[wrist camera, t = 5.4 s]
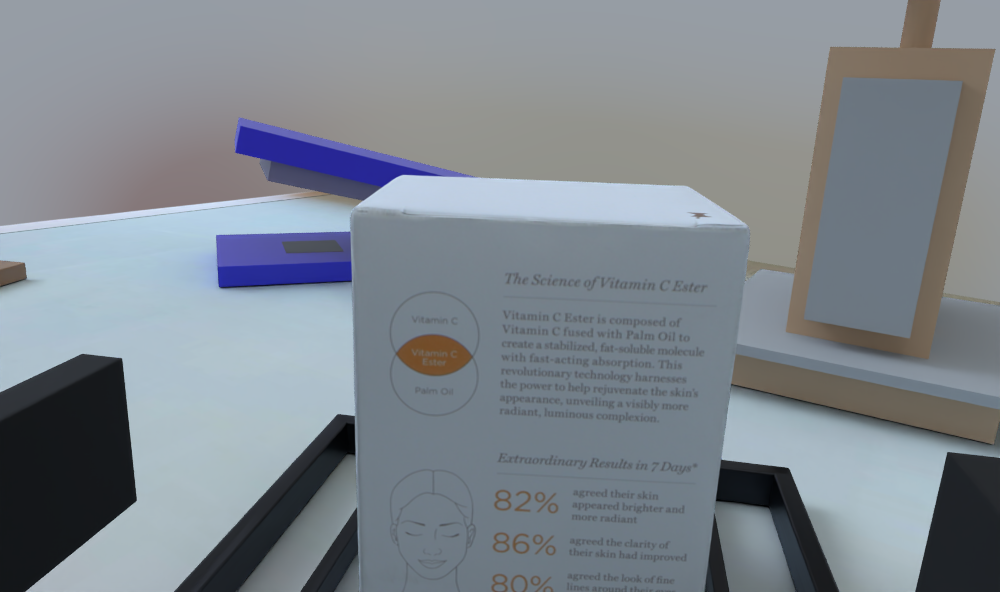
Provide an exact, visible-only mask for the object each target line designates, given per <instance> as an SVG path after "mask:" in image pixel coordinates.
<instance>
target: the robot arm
mask: <svg viewBox="0 0 1000 592" xmlns="http://www.w3.org/2000/svg"><path fill="white" fill-rule="evenodd" d="M136 501H137V498H136V488H135V478H134V469H133V459H132V449H131V440H130V430H129V420H128V411H127V401H126V391H125V382H124V372H123V362H122V358H114V357H105V356H96V355H87V354H81V355H79V356H77V357H75V358H73V359H70V360H68V361H66V362H64V363H62V364H60V365H58V366H56V367H53V368H51V369H49V370H47V371H45V372H43V373H41V374H39V375H36V376H34V377H32V378H30V379H28V380H26V381H24V382H22V383H19V384H17V385H15V386H13V387H11V388H9V389H7V390H5V391H2V392H0V592H25V591H26V590H28V589H29V588H30V587H31V586H33V585H34V584H35V583H36V582H38V581H39V580H40V579H41V578H42V577H44V576H45V575H46V574H47V573H49V572H50V571H51V570H52V569H53V568H55V567H56V566H57V565H58V564H60V563H61V562H62V561H63V560H65V559H66V558H67V557H68V556H69V555H71V554H72V553H73V552H74V551H76V550H77V549H78V548H79V547H81V546H82V545H83V544H84V543H85V542H87V541H88V540H89V539H90V538H92V537H93V536H94V535H95V534H96V533H98V532H99V531H100V530H101V529H103V528H104V527H105V526H106V525H108V524H109V523H110V522H111V521H112V520H114V519H115V518H116V517H117V516H119V515H120V514H121V513H122V512H123V511H125V510H126V509H127V508H128V507H130V506H131V505H132V504H133V503H135V502H136ZM916 592H1000V458H996V457H987V456H978V455H969V454H960V453H952V452H947V457H946V461H945V465H944V470H943V474H942V478H941V483H940V487H939V491H938V496H937V500H936V505H935V509H934V513H933V518H932V522H931V526H930V531H929V535H928V539H927V544H926V548H925V552H924V557H923V561H922V565H921V570H920V574H919V578H918V583H917V587H916Z"/></svg>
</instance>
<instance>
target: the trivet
mask: <svg viewBox="0 0 1000 592" xmlns="http://www.w3.org/2000/svg"><path fill="white" fill-rule="evenodd" d="M26 278H27V275H26V268H25V263H21V262H10V261H0V286H3V285H6V284H9V283H12V282H16V281H19V280H22V279H26Z"/></svg>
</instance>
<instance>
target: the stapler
mask: <svg viewBox="0 0 1000 592" xmlns="http://www.w3.org/2000/svg"><path fill="white" fill-rule="evenodd" d="M235 152H236V153H239V154H243V155H248V156H252V157H257V158H260V165H261V168H262V170H263V172H264V174H265V176H266V178H267V180H268V181H271V182H276V183H281V184H286V185H291V186H295V187H300V188H305V189H310V190H315V191H320V192H324V193H329V194H334V195H339V196H344V197H348V198H353V199H358V200H363V201H364V200H365V199H367V198H368V197H369V196H371V195H372V194H374V193H375V192H376V191H378V190H379V189H381V188H382V187H383V186H385V185H386V184H388V183H389V182H391V181H392V180H393V179H395V178H397V177H399V176H402V175H415V176H443V177H470V178H477V177H473V176H469V175H466V174H461V173H458V172H454V171H449V170H446V169H441V168H438V167H434V166H430V165H426V164H422V163H418V162H414V161H410V160H406V159H402V158H398V157H394V156H390V155H386V154H382V153H378V152H374V151H370V150H366V149H362V148H358V147H354V146H350V145H346V144H343V143H339V142H335V141H331V140H327V139H323V138H319V137H314V136H310V135H306V134H303V133H299V132H295V131H291V130H287V129H283V128H279V127H275V126H271V125H267V124H263V123H259V122H255V121H251V120H247V119H243V118H239V120H238V126H237V131H236V136H235ZM216 241H217V263H218V280H219V287H230V286H251V285H271V284H291V283H312V282H332V281H352V264H351V232H321V233H283V234H244V235H216Z"/></svg>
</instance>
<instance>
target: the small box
mask: <svg viewBox="0 0 1000 592" xmlns="http://www.w3.org/2000/svg"><path fill="white" fill-rule="evenodd" d="M350 232H351V264H352V307H353V342H354V396H355V444H356V481H357V518H358V556H359V592H704V591H705V583H706V574H707V566H708V559H709V552H710V543H711V536H712V527H713V519H714V510H715V502H716V494H717V486H718V478H719V471H720V464H721V456H722V449H723V441H724V434H725V428H726V419H727V410H728V404H729V398H730V389H731V381H732V375H733V368H734V361H735V355H736V347H737V340H738V332H739V324H740V315H741V307H742V299H743V290H744V283H745V276H746V269H747V258H748V252H749V242H750V230H749V227H748V226H747V225H746V224H745V223H744V222H742V221H741V220H739V219H738V218H736V217H735V216H734V215H732V214H730V213H729V212H727V211H726V210H724V209H723V208H721V207H719V206H718V205H716V204H715V203H713V202H712V201H710V200H709V199H707V198H706V197H704V196H703V195H701V194H699V193H698V192H696V191H695V190H693V189H691V188H690V187H687V186H669V185H643V184H618V183H594V182H571V181H545V180H519V179H517V180H516V179H494V178H470V177H443V176H415V175H402V176H399V177H397V178H395V179H393V180H392V181H391V182H389V183H388V184H386V185H385V186H383V187H382V188H381V189H379V190H378V191H376V192H375V193H374V194H372V195H371V196H369V197H368V198H367V199H365V200H364V201H362V202H361V203H360V204H358V205H357V206H356V207H355V208H354V209H353V210H352V212H351V217H350Z"/></svg>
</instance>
